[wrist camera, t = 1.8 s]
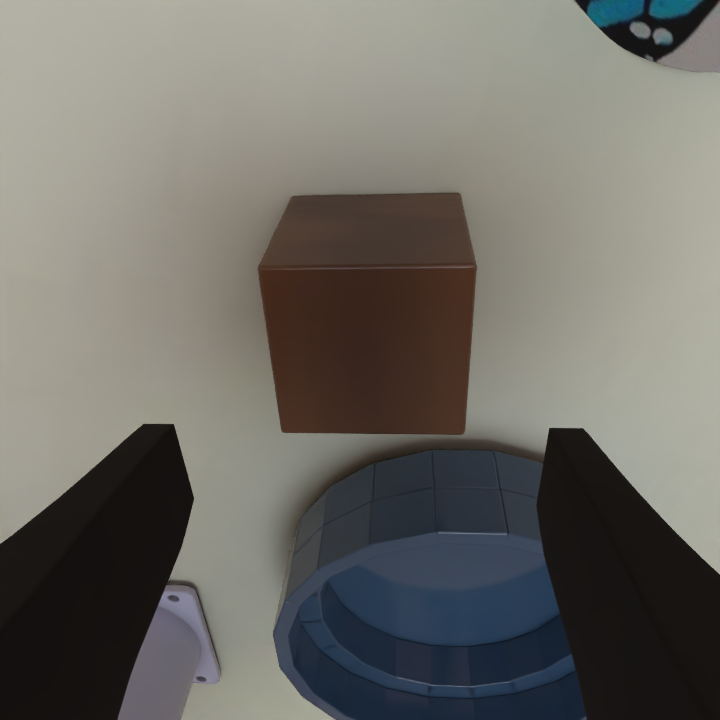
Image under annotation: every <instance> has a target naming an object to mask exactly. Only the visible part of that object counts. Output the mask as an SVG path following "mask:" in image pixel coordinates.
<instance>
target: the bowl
mask: <svg viewBox="0 0 720 720" xmlns="http://www.w3.org/2000/svg"><path fill="white" fill-rule="evenodd" d="M542 468H543V463H541V462H537V461H533V460H529V459H526V458H522V457H518V456H514V455H510V454H506V453H503V452H499V451H491V450H433V451H431V450H429V451H425V452H420V453H416V454H411V455H407V456H403V457H398V458H394V459H390V460H385V461H381V462H377V463H376V464H375V463H373V464H371V465H369V466H367V467H365V468H363V469H361V470H360V471H358V472H356V473H354V474H352V475H350V476H348V477H347V478H345V479H343V480H341V481H339V482H337V483H335V484H333V485H332V486H330V488H328V489H327V490H326V491H325V492H324V494H323V495H322V496H321V497H320V498H319V499H318V500H317V501H316V502H315V503H314V504H313V505H312V507H311V508H310V509H309V510H308V511H307V512H306V513H305V514H304V515H303V516H302V517H301V519H300V520H299V523H298V526H297V529H296V532H295V535H294V538H293V541H292V544H291V547H290V550H289V555H288V560H287V565H286V570H285V575H284V580H283V585H282V590H281V595H280V600H279V605H278V610H277V615H276V620H275V625H274V630H273V638H274V642H275V647H276V652H277V657H278V662H279V667H280V669H281V670H282V671H283V673H284V674H285V675H286V677H287V678H288V679H289V680H290V682H291V683H292V684H293V686H294V687H295V688H296V690H297V691H298V692H299V693H300V695H301V696H303V698H305V699H306V700H308V701H309V702H311V703H312V704H313V705H315V706H316V707H318V708H319V709H321V710H322V711H324V712H325V713H327V714H328V715H329V716H331V717H332V718H334V719H336V720H587V719H586V714H585V708H584V703H583V697H582V693H581V689H580V685H579V681H578V676H577V672H576V669H575V665H574V661H573V658H572V654H571V651H570V647H569V644H568V640H567V637H566V633H565V630H564V626H563V623H562V619H561V615H560V612H559V608H558V605H557V601H556V598H555V594H554V591H553V587H552V583H551V580H550V576H549V573H548V569H547V565H546V562H545V558H544V553H543V547H542V541H541V535H540V528H539V521H538V514H537V508H536V503H537V498H538V492H539V486H540V480H541V474H542Z"/></svg>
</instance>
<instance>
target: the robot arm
mask: <svg viewBox="0 0 720 720" xmlns="http://www.w3.org/2000/svg"><path fill="white" fill-rule="evenodd" d="M193 501H194V496H193V493H192V489H191V485H190V482H189V478H188V474H187V471H186V467H185V463H184V460H183V456H182V452H181V449H180V445H179V441H178V438H177V434H176V430H175V427H174V424H143V425H142V426H141V427H139V428H138V429H137V430H136V431H135V432H133V433H132V434H131V435H130V436H129V437H128V438H127V439H125V440H124V441H123V442H122V443H121V444H120V445H119V446H118V447H116V448H115V449H114V450H113V451H112V452H111V453H110V454H109V455H107V456H106V457H105V458H104V459H103V460H102V461H101V462H100V463H99V464H97V465H96V466H95V467H94V468H93V469H92V470H91V471H89V472H88V473H87V474H86V475H85V476H84V477H82V478H81V479H80V480H79V481H78V482H77V483H76V484H74V485H73V486H72V487H71V488H70V489H69V490H68V491H66V492H65V493H64V494H63V495H62V496H61V497H59V498H58V499H57V500H56V501H54V502H53V503H52V504H51V505H49V506H48V507H47V508H46V509H44V510H43V511H42V512H41V513H39V514H38V515H37V516H36V517H34V518H33V519H32V520H31V521H29V522H28V523H27V524H26V525H24V526H23V527H22V528H21V529H19V530H18V531H17V532H16V533H14V534H13V535H12V536H11V537H9V538H8V539H7V540H5V541H4V542H3V543H1V544H0V720H181V718H182V715H183V711H184V708H185V705H186V701H187V698H188V695H189V691H190V688H191V684H192V683H202V684H215V683H218V682H219V681H220V677H221V672H220V668H219V665H218V662H217V658H216V655H215V652H214V649H213V645H212V642H211V639H210V636H209V632H208V629H207V626H206V623H205V619H204V616H203V613H202V609H201V606H200V603H199V600H198V596H197V593H196V591H195V590H194V589H193V588H192V587H189V586H181V585H167V582H168V580H169V577H170V575H171V572H172V570H173V567H174V565H175V562H176V560H177V557H178V555H179V552H180V549H181V547H182V543H183V540H184V536H185V533H186V529H187V525H188V521H189V517H190V513H191V509H192V505H193ZM536 508H537V514H538V521H539V528H540V535H541V541H542V547H543V553H544V558H545V562H546V565H547V569H548V573H549V576H550V580H551V583H552V587H553V591H554V594H555V598H556V601H557V605H558V608H559V612H560V615H561V619H562V623H563V626H564V630H565V633H566V637H567V640H568V644H569V647H570V651H571V654H572V658H573V661H574V665H575V669H576V672H577V676H578V681H579V685H580V689H581V693H582V697H583V703H584V708H585V714H586V719H587V720H720V574H719V573H717V572H716V571H715V570H714V569H713V568H712V567H711V566H710V565H709V564H708V563H707V562H705V561H704V560H703V559H702V558H701V557H700V556H699V555H698V554H697V553H696V552H695V551H694V550H693V549H692V548H691V547H690V546H689V545H688V544H687V543H686V542H685V541H684V540H683V539H682V538H681V537H680V536H679V535H678V534H677V533H676V532H675V531H674V530H673V529H672V528H671V527H670V526H669V525H668V524H667V523H666V522H665V521H664V520H663V519H662V518H661V517H660V515H659V514H658V513H657V512H656V511H655V510H654V509H653V508H652V507H651V506H650V505H649V504H648V503H647V501H646V500H645V499H644V498H643V497H642V496H641V495H640V494H639V493H638V492H637V491H636V489H635V488H634V487H633V486H632V485H631V484H630V483H629V481H628V480H627V479H626V478H625V477H624V476H623V475H622V473H621V472H620V471H619V470H618V469H617V468H616V466H615V465H614V464H613V463H612V462H611V461H610V459H609V458H608V457H607V456H606V455H605V453H604V452H603V451H602V450H601V449H600V447H599V446H598V445H597V444H596V443H595V441H594V440H593V439H592V438H591V437H590V435H589V434H588V433H587V432H586V431H585V430H584V429H583V428H549V434H548V439H547V445H546V451H545V457H544V463H543V468H542V474H541V480H540V486H539V492H538V498H537V503H536Z"/></svg>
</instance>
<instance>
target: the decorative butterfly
mask: <svg viewBox="0 0 720 720" xmlns="http://www.w3.org/2000/svg"><path fill="white" fill-rule="evenodd" d="M575 1H576V2H577V3H578V5H579V6H580V7H581V8H582V9H583V10H584V12H585V13H586V14H587V15H588V16H589V17H590V19H591V20H592V21H593V22H594V23H595V24H596V25H597V26H598V27H599V28H600V29H601V30H602V31H603V32H604V33H605V34H606V35H607V36H608V37H609V38H610V39H612V40H613V41H614V42H616V43H617V44H618V45H620V46H621V47H623V48H624V49H626V50H628V51H630V52H632V53H634V54H636V55H638V56H640V57H643V58H645V59H647V60H650V61H653V62H656V63H659V64H663V65H666V66H670V67H673V68H677V69H682V70H688V71H693V72H720V0H575Z"/></svg>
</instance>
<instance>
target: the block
mask: <svg viewBox="0 0 720 720" xmlns="http://www.w3.org/2000/svg"><path fill="white" fill-rule="evenodd" d="M476 271H477V265H476V261H475V256H474V252H473V247H472V243H471V239H470V234H469V230H468V226H467V221H466V217H465V212H464V208H463V204H462V199H461V195H460V194H459V193H439V194H386V195H334V196H293V197H291V199H290V201H289V203H288V206H287V208H286V210H285V212H284V214H283V216H282V218H281V220H280V222H279V224H278V226H277V228H276V230H275V233H274V235H273V237H272V239H271V241H270V243H269V245H268V247H267V249H266V251H265V253H264V255H263V257H262V260H261V262H260V264H259V266H258V275H259V282H260V289H261V296H262V302H263V309H264V316H265V323H266V330H267V337H268V343H269V350H270V357H271V364H272V371H273V378H274V384H275V391H276V398H277V405H278V412H279V419H280V425H281V430H282V432H284V433H356V434H448V435H462V434H464V432H465V424H466V410H467V397H468V383H469V369H470V355H471V341H472V327H473V313H474V299H475V285H476Z"/></svg>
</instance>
